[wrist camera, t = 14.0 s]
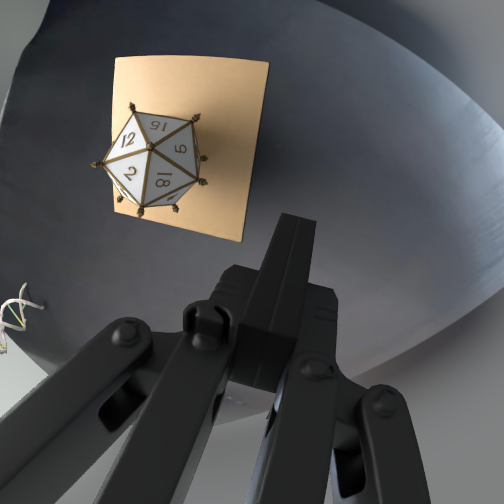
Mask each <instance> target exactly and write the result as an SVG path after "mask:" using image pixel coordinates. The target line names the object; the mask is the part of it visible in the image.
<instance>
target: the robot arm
mask: <svg viewBox="0 0 504 504" xmlns="http://www.w3.org/2000/svg"><path fill="white" fill-rule="evenodd" d="M315 228H316V221H313V220H309V219H305V218H302V217H298V216H294V215H290V214H286V213H281V216H280V218H279V221H278V224H277V226H276V229H275V231H274V234H273V237H272V239H271V242H270V244H269V247H268V250H267V252H266V255H265V257H264V260H263V263H262V265H261V268H260V270H259V271H258V270H254V269H250V268H246V267H243V266H239V265H235V264H234V265H233V266H231V267H230V268H228V269H227V270H225V271H224V273H223V274H222V276H221V278H220V280H219V283H218V284H217V285H216V287H215V290H214V291H213V293H212V295H211V296H210V298H209V300H202V301H196V302H194V303H192V304H190V305H188V306H187V307H186V308H185V309H184V310H183V331H181V332H177V333H163V332H151V330H150V327H149V326H148V325H147V324H146V323H145V322H144V321H142V320H140V319H137V318H132V317H125V318H120V319H117V320H115V321H114V322H112V323H110V324H109V325H108V326H107V327H105V328H104V329H103V330H102V331H100V332H99V333H98V334H97V335H96V336H94V337H93V338H92V339H91V340H90V341H88V342H87V343H86V344H85V345H84V346H82V347H81V348H80V349H79V350H78V351H76V352H75V353H74V354H73V355H72V356H71V357H69V358H68V359H67V360H66V361H65V362H63V363H62V364H61V365H60V366H59V367H58V368H56V369H55V370H54V371H53V372H52V373H51V374H49V375H48V376H47V377H46V378H45V379H44V380H43V381H42V382H40V383H39V384H38V385H37V386H36V387H35V388H33V389H32V390H31V391H30V392H29V393H28V394H26V395H25V396H24V397H23V398H22V399H21V400H20V401H19V402H17V403H16V404H15V405H14V406H13V407H12V408H11V409H10V410H9V411H8V412H6V413H5V414H4V415H3V416H2V417H1V418H0V504H54V503H55V502H56V501H57V500H58V499H59V498H60V497H61V496H62V495H63V494H64V493H65V492H66V491H67V490H68V489H69V488H70V487H71V486H72V485H73V484H74V483H75V482H76V481H77V480H78V479H79V478H80V477H81V476H82V475H83V474H84V473H85V472H86V471H87V470H88V469H89V468H90V467H91V466H92V465H93V464H94V463H95V462H96V461H97V459H99V457H101V455H102V454H103V453H104V452H105V451H106V450H107V449H108V448H109V447H110V446H111V445H112V444H113V443H114V442H115V441H116V440H117V439H118V438H119V436H121V434H122V433H123V432H124V431H125V430H126V429H127V428H128V427H129V426H130V425H131V424H132V423H133V422H134V421H135V419H136V418H137V419H136V421H135V423H134V425H133V427H132V429H131V430H130V432H129V434H128V436H127V438H126V440H125V442H124V444H123V446H122V447H121V449H120V451H119V453H118V455H117V457H116V459H115V461H114V463H113V465H112V467H111V469H110V471H109V473H108V475H107V477H106V479H105V481H104V482H103V484H102V486H101V489H100V490H99V492H98V494H97V496H96V498H95V500H94V502H93V504H183V503H184V500H185V498H186V495H187V493H188V490H189V487H190V485H191V482H192V480H193V477H194V475H195V472H196V469H197V467H198V464H199V462H200V459H201V457H202V454H203V451H204V449H205V446H206V443H207V441H208V438H209V435H210V433H211V430H212V427H213V425H214V422H215V420H216V417H217V414H218V412H219V409H220V406H221V404H222V401H223V398H224V394H225V388H226V385H227V383H228V380H229V381H232V382H236V383H239V384H243V385H246V386H250V387H253V388H257V389H261V390H265V391H268V392H272V393H276V396H275V401H274V403H273V405H272V407H271V409H270V412H269V414H268V416H267V418H266V419H268V421H267V425H266V429H265V433H264V436H263V440H262V444H261V447H260V451H259V454H258V458H257V461H256V465H255V468H254V472H253V475H252V478H251V482H250V485H249V488H248V492H247V495H246V498H245V501H244V504H324V499H325V494H326V488H327V482H328V475H329V470H330V475H331V485H332V495H333V504H431V501H430V496H429V491H428V486H427V481H426V477H425V472H424V467H423V463H422V459H421V455H420V451H419V447H418V443H417V439H416V435H415V431H414V428H413V424H412V421H411V417H410V414H409V410H408V407H407V404H406V401H405V399H404V397H403V395H402V394H401V393H400V392H399V391H398V390H397V389H395V388H393V387H391V386H389V385H383V384H379V385H375V386H372V387H371V388H370V389H366V388H364V387H362V386H360V385H358V384H356V383H354V382H352V381H351V380H349V379H348V378H346V377H345V376H344V375H343V374H342V373H341V371H340V370H339V367H338V365H337V363H336V357H335V354H336V338H337V318H338V313H337V312H338V299H337V297H336V295H335V293H334V290H333V289H331V288H327V287H323V286H319V285H315V284H311V283H308V278H309V271H310V265H311V258H312V250H313V243H314V236H315ZM276 391H277V392H276Z"/></svg>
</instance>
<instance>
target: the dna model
mask: <svg viewBox="0 0 504 504" xmlns="http://www.w3.org/2000/svg"><path fill="white" fill-rule="evenodd" d="M26 284H27V283H25V284H24V285H23V286H22V288H21V290H20V295H19V299H10V300H8V301H6V302H5V303H4V304H3V305H2V307H1V311H0V326H1V332H2V336H3V340H4V347H3V346H2V344H1V343H0V345H1V346H2V348H3V349H4V350H2V351H1V350H0V354H3V353H7V343H6V339H5V334H4V328H5V326H8V327H11V328H13V329H15V330H20V331H24V330H25V331H26V324H25V322H26V320H25V319H24V315H23V308H24V306H25V305H26V304H28V305H31V306H33V307H36V308H39V309H41V310H42V309H44V306H42V307H41V306H39V305H36V304H34V303H31V302H29V301H26V300H22V294H23V291H24V288H25V286H26ZM11 302H13V303H14V302H18V303H19V306H20V313H21V317H22V321H23V323H22V322H21V321H20V319H19V318H18V317H17V319H18V320H19V322H20V323H21V324H22V326H23V328H21V327H18V326H14V325H11V324H8V323H5V322H4V321H2V317H3V310H4V308H5V306H6V305H8V307H9V308H10V309H11V311H12V312H13V314H14V315H15V316H17V315H16V314H15V312H14V311H13V310H12V308H11V307H10V306H9V303H11ZM22 303H24V306H23V307H22Z"/></svg>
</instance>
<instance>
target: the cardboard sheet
mask: <svg viewBox="0 0 504 504" xmlns="http://www.w3.org/2000/svg"><path fill="white" fill-rule="evenodd" d="M268 68H269V63H267V62H260V61H252V60H244V59H234V58H222V57H207V56H134V57H119V58H116V62H115V73H114V88H113V110H112V142H113V141H115V140H116V138H117V136H118V135H119V133H120V131H121V130H122V128H123V127H124V125H125V124H126V122H127V120H128V119H129V117H130V116H131V114H132V112H131V111H129V110H130V109H129V108H128V107H129V103H130V102H132V103H133V104H135V107H136V111H137V112H144V113H151V114H158V115H164V116H170V117H175V118H181V119H186V120H191V119H192V116H194V114H199V113H201V115H200V120H198V122H195V123H194V129H195V134H196V139H197V143H198V148H199V153H200V157H201V156H202V155H203V156H204V155H206V157H208V158H209V159H208V160H206V162H205V161H204V162H203V161H200V171H199V178H204V179H206V181H207V183H208V185H204V186H202V185H199V183H198V182H196V183H195V184H194V185H193V186H192V187H191V188H190V189H189V190H188V191H187V192H186V193H185V194H184V195H183V196H182V197H181V198H180V200H179V201H178V202H177V203H176V205H178V208H179V211H178V213H176V212H173V209H172V205H169V206H158V207H147V208H144V211H145V212H144V215H143V216H142V217H141V218H144V219H148V220H152V221H156V222H160V223H164V224H168V225H173V226H177V227H181V228H185V229H189V230H193V231H197V232H201V233H205V234H209V235H213V236H217V237H221V238H225V239H229V240H234V241H238V242H241V240H242V233H243V226H244V220H245V213H246V206H247V200H248V193H249V187H250V180H251V174H252V167H253V161H254V154H255V148H256V142H257V135H258V129H259V123H260V117H261V110H262V104H263V98H264V92H265V86H266V80H267V74H268ZM113 190H114V206H115V212H119V213H123V214H127V215H131V216H136V217H138V215H137V214H136V213H137V212H138V211H137V210H138V209H139V206H137V205H136V204H134V203H132V202H131V201H129V200H128V199H126V198H124V199H123V201H122V202H121V203H117V198H118V196H120V195H121V194H120V193H119V191H118V189H117V188H116V186H115V185H114V183H113Z"/></svg>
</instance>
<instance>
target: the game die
mask: <svg viewBox="0 0 504 504" xmlns="http://www.w3.org/2000/svg"><path fill="white" fill-rule="evenodd" d="M128 108H129V109H130V110H129V111H131V112H132V114H131V116H130V117H129V119H128V120H127V122H126V124H125V125H124V127H123V128H122V130H121V131H120V133H119V135H118V136H117V138H116V140H115V141H113V142H112V146H111V148H110V150H109V151H108V153H107V155H106V157H105V158H104V160H103V162H100V161H98V162H97V161H95V162H94V163H93V164H91V166H93V167H95V168H100V167H104V169H105V171H106V172H107V174H108V175H109V177H110V178H111V180H112V182H113V183H114V185H115V186H116V188H117V189H118V191H119V193H120V194H121V195H120V196H118V198H117V203H121V202H122V201H123V199H124V198H126V199H128V200H129V201H131V202H132V203H134V204H136V205H137V206H139V209H138V210H137V211H138V212H137V213H136V214H137V215H138V217H139V218H141V217H142V216H143V215H144V212H145V211H144V208H147V207H158V206H169V205H172V209H173V212H176V213H178V211H179V208H178V205H176V203H177V202H178V201H179V200H180V198H181V197H182V196H183V195H184V194H185V193H186V192H187V191H188V190H189V189H190V188H191V187H192V186H193V185H194V184H195V183H196V182H198V183H199V185H202V186H204V185H208V183H207V181H206V179H204V178H199V171H200V161H203V162H204V161H205V162H206V160H208V159H209V158H208V157H206V155H204V156H203V155H202V156H201V157H200V153H199V148H198V143H197V139H196V134H195V129H194V123H195V122H198V120H200V115H201V113H199V114H194V116H192V119H191V120H186V119H181V118H175V117H170V116H164V115H158V114H151V113H144V112H137V111H136V107H135V104H133V103H132V102H130V103H129V107H128Z"/></svg>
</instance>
